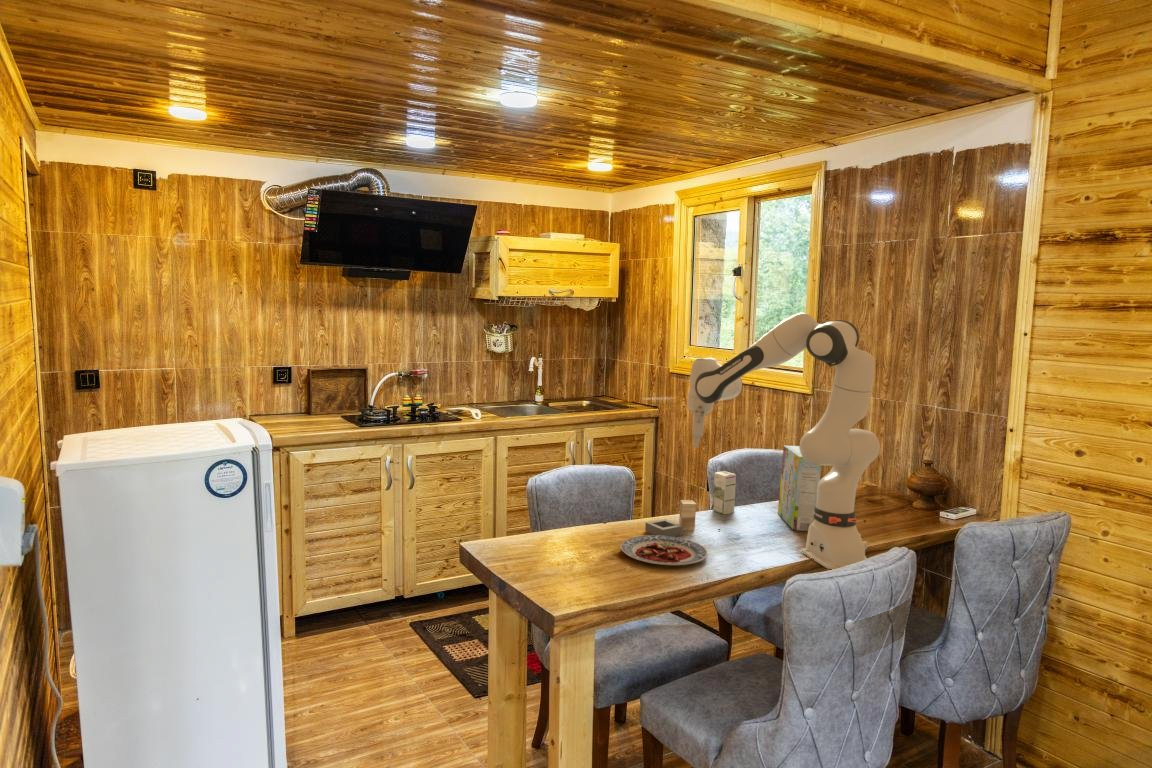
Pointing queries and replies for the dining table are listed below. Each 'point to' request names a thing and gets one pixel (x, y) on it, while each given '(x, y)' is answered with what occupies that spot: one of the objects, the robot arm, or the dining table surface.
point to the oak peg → (687, 514)
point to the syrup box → (724, 492)
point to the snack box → (798, 489)
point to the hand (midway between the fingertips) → (696, 443)
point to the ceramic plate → (664, 550)
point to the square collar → (664, 528)
